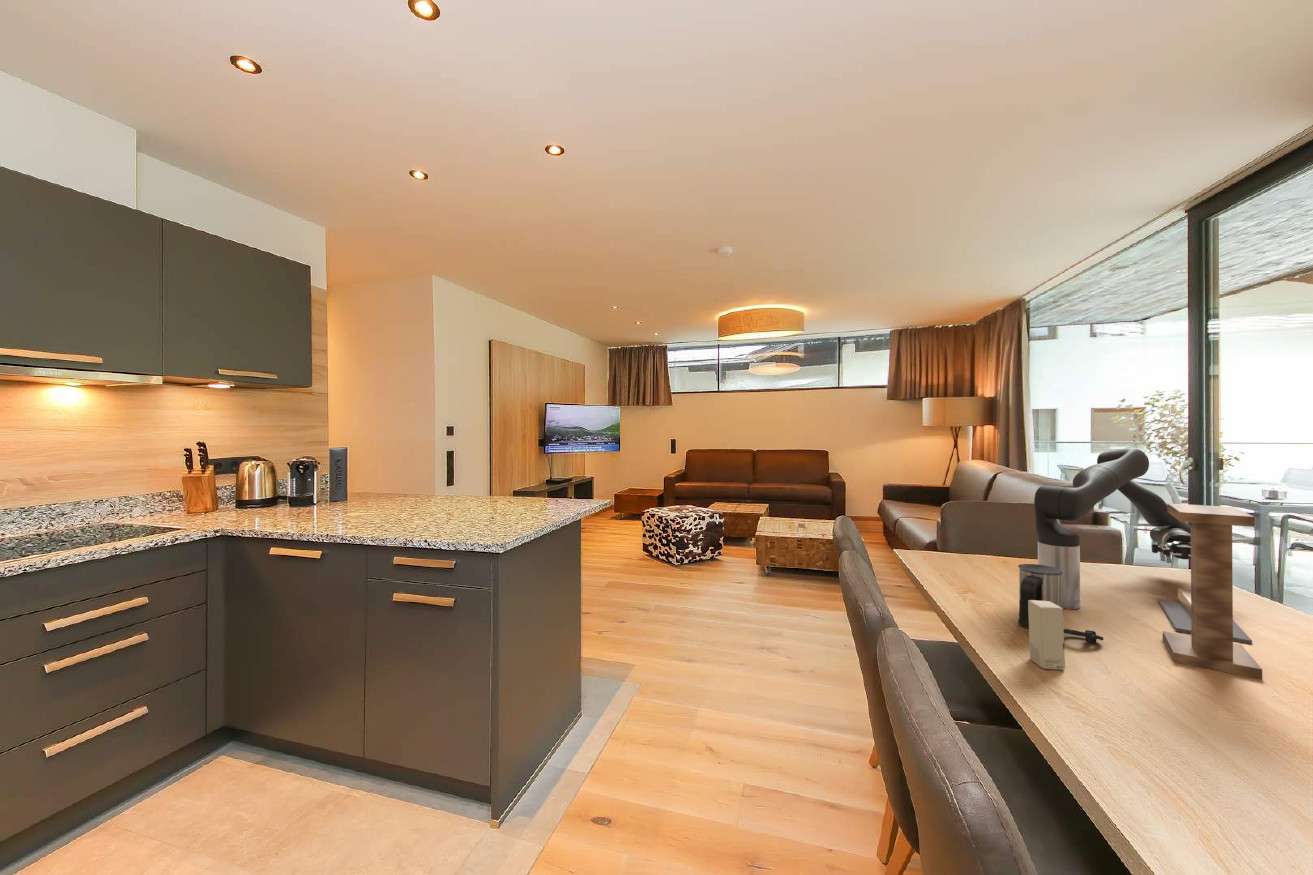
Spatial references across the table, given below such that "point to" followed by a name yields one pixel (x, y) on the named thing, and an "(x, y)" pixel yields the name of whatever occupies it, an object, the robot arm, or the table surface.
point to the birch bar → (1185, 598)
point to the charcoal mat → (1183, 620)
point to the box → (1046, 634)
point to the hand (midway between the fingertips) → (1190, 555)
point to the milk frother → (1043, 593)
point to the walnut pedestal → (1211, 593)
